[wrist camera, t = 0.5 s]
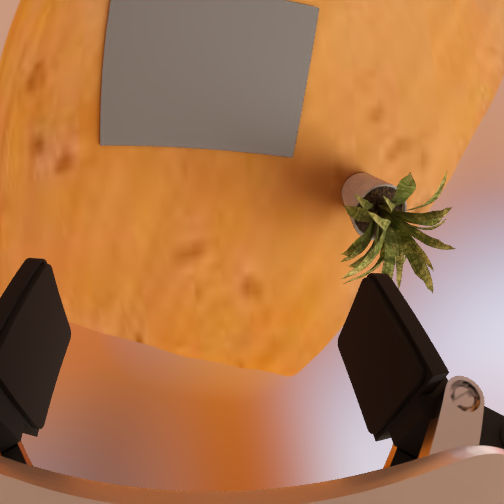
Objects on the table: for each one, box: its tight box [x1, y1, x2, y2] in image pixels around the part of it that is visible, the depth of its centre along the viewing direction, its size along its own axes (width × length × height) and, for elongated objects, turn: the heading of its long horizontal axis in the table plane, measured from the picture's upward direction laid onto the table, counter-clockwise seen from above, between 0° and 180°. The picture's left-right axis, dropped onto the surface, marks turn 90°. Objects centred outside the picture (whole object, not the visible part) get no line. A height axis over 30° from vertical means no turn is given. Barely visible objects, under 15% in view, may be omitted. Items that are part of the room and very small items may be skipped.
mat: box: [100, 0, 319, 158], centre depth 29 cm, size 18×22×1 cm
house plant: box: [341, 172, 455, 292], centre depth 32 cm, size 14×14×16 cm
